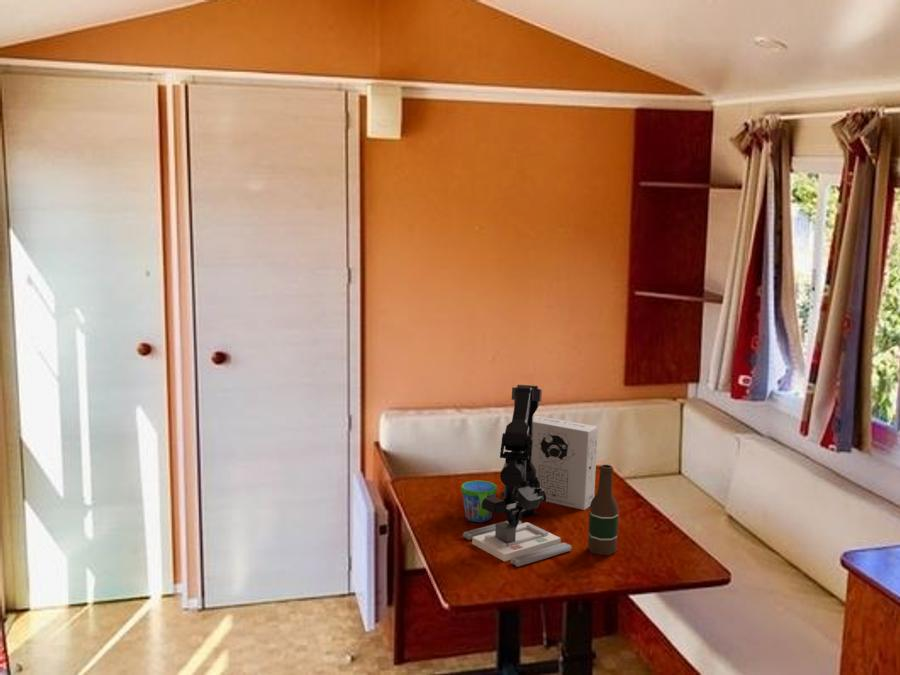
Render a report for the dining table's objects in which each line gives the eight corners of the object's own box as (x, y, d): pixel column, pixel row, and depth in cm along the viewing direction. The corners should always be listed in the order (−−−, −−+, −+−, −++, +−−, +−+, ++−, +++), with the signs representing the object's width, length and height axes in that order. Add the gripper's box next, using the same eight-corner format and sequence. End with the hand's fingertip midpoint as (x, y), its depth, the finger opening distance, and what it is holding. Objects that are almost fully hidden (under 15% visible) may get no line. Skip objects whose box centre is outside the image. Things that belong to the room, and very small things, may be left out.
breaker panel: (527, 528, 259) (527, 518, 259) (560, 544, 248) (560, 534, 248) (472, 543, 248) (472, 533, 247) (504, 561, 237) (504, 550, 236)
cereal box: (594, 503, 281) (598, 426, 277) (584, 510, 275) (588, 431, 271) (532, 489, 293) (535, 415, 288) (521, 496, 286) (524, 420, 282)
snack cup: (459, 508, 274) (460, 476, 272) (493, 509, 274) (494, 477, 273) (461, 528, 259) (462, 494, 257) (498, 528, 259) (499, 495, 257)
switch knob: (503, 535, 248) (504, 521, 247) (515, 541, 244) (515, 527, 243) (495, 537, 246) (495, 523, 246) (506, 543, 242) (507, 529, 242)
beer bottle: (598, 558, 240) (603, 472, 236) (581, 547, 247) (586, 463, 243) (622, 553, 244) (627, 468, 239) (604, 542, 250) (609, 460, 246)
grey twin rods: (515, 523, 263) (515, 517, 263) (573, 551, 244) (573, 545, 244) (461, 537, 252) (461, 531, 252) (517, 568, 233) (517, 561, 232)
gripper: (508, 489, 232) (506, 547, 235) (561, 477, 243) (558, 531, 245) (481, 478, 241) (479, 533, 243) (533, 466, 252) (531, 519, 254)
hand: (513, 529), depth 246 cm, fingers closed
